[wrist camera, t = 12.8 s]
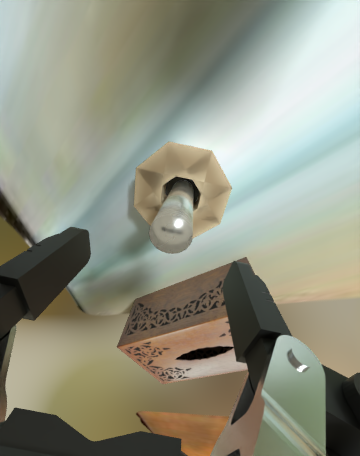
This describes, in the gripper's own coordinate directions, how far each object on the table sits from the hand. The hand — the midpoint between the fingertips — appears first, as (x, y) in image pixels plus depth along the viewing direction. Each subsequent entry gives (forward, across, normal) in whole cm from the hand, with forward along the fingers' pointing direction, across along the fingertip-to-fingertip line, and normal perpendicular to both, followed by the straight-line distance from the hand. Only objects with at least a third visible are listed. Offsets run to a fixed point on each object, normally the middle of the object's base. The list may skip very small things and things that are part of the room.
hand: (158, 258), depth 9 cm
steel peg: (+17, 0, 0) cm, 17 cm away
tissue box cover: (+17, -9, +24) cm, 31 cm away
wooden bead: (+17, 0, 0) cm, 17 cm away
